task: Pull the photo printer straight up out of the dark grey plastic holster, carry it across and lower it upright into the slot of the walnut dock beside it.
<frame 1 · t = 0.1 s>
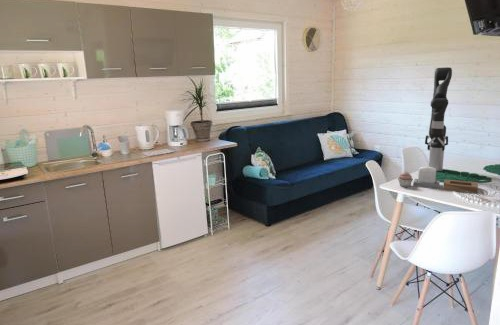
hand: (435, 150, 251), 17 cm above the table, tool pointing down, fingers open, 8 cm apart
cupcake: (404, 186, 234), on the table
dock: (460, 188, 223), on the table
holster: (426, 185, 232), on the table
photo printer: (426, 185, 232), resting in holster
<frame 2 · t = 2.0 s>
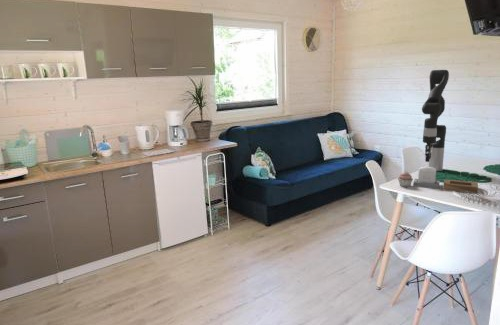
hand: (428, 160, 228), 17 cm above the table, tool pointing down, fingers open, 8 cm apart
nothing on the table moved.
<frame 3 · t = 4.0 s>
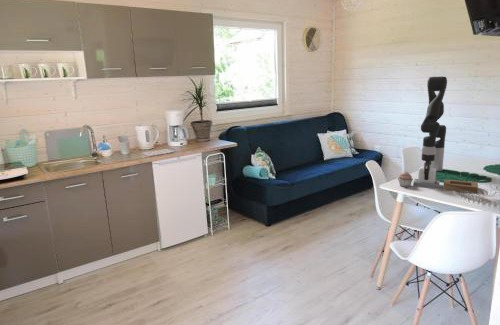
hand: (426, 178, 231), 4 cm above the table, tool pointing down, fingers closed on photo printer, 4 cm apart
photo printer: (426, 185, 232), resting in holster, touching gripper
everything else where it was.
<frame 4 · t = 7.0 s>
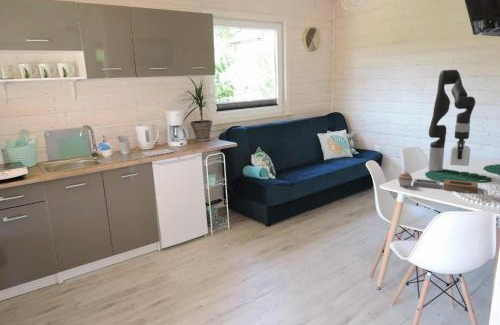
hand: (459, 158, 219), 19 cm above the table, tool pointing down, fingers closed on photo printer, 4 cm apart
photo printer: (459, 165, 220), point 15 cm above the table, touching gripper
everything else where it was.
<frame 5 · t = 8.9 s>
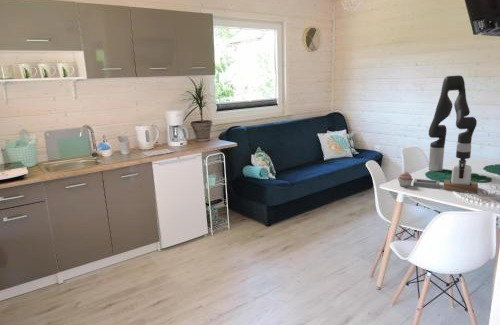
hand: (461, 177, 221), 7 cm above the table, tool pointing down, fingers closed on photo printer, 4 cm apart
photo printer: (460, 184, 222), point 3 cm above the table, touching gripper
everything else where it was.
when the fingers open (5 cm above the table, at t = 10.1 s): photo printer stays where it is, resting in dock.
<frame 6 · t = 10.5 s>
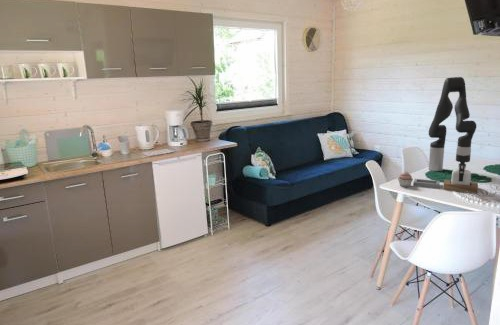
hand: (460, 179, 221), 6 cm above the table, tool pointing down, fingers open, 8 cm apart
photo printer: (459, 188, 223), resting in dock
everything else where it was.
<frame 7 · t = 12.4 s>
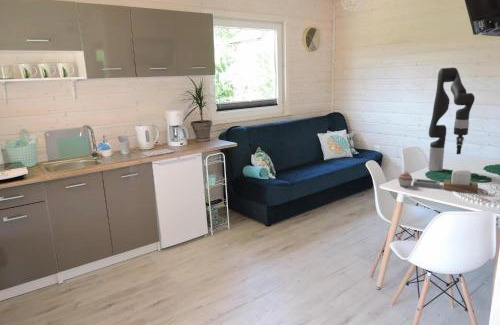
hand: (458, 152, 222), 22 cm above the table, tool pointing down, fingers open, 8 cm apart
nothing on the table moved.
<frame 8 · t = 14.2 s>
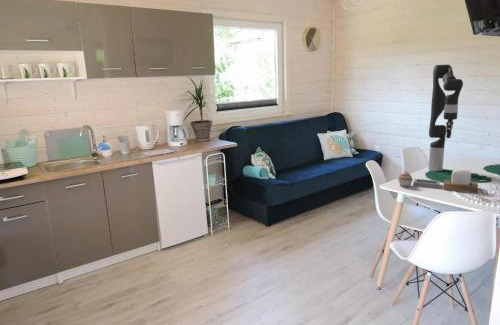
hand: (448, 136, 230), 30 cm above the table, tool pointing down, fingers open, 8 cm apart
nothing on the table moved.
at the end: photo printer 0.1 cm off-centre on the dock, point 0.0 cm above the dock's base; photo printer tilted 0°; the gripper is holding nothing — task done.
